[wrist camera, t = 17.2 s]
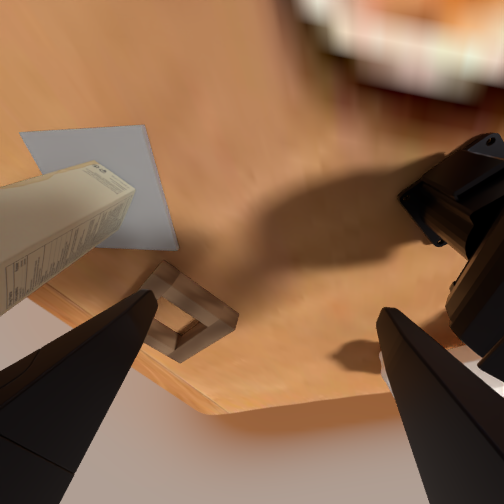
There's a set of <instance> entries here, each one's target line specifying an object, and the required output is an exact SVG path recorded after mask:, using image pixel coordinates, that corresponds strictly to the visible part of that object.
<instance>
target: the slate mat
mask: <svg viewBox="0 0 504 504" xmlns="http://www.w3.org/2000/svg"><path fill="white" fill-rule="evenodd" d="M19 134H20V136H21V137H22V139H23V141H24V143H25V144H26V146H27V148H28V150H29V151H30V153H31V155H32V157H33V158H34V160H35V162H36V164H37V165H38V167H39V169H40V171H41V172H42V174H43V175H44V174H47V173H51V172H54V171H58V170H61V169H65V168H68V167H71V166H75V165H78V164H82V163H85V162H89V161H92V160H95V161H96V162H98V163H99V164H101V165H102V166H104V167H105V168H107V169H108V170H110V171H111V172H112V173H114V174H115V175H117V176H118V177H119V178H121V179H122V180H124V181H125V182H126V183H128V184H129V185H131V186H132V187H133V188H135V190H136V191H135V194H134V196H133V199H132V201H131V204H130V206H129V208H128V211H127V213H126V215H125V218H124V220H123V222H122V224H121V226H120V228H119V230H118V231H116V232H115V233H113V234H112V235H111V236H109V237H108V238H107V239H105V240H104V241H102V242H101V243H100V244H98V245H97V246H96V247H99V248H122V249H145V250H168V251H177V250H178V249H179V245H178V241H177V238H176V234H175V231H174V227H173V224H172V220H171V217H170V213H169V210H168V206H167V203H166V199H165V195H164V192H163V188H162V185H161V181H160V178H159V174H158V171H157V167H156V164H155V160H154V157H153V153H152V149H151V146H150V142H149V139H148V135H147V132H146V128H145V125H133V126H116V127H99V128H82V129H66V130H49V131H32V132H19Z"/></svg>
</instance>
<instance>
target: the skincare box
mask: <svg viewBox="0 0 504 504" xmlns="http://www.w3.org/2000/svg"><path fill="white" fill-rule="evenodd" d="M135 191H136V190H135V188H133V187H132V186H131V185H129V184H128V183H126V182H125V181H124V180H122V179H121V178H119V177H118V176H117V175H115V174H114V173H112V172H111V171H110V170H108V169H107V168H105V167H104V166H102V165H101V164H99V163H98V162H96V161H95V160H92V161H89V162H85V163H82V164H78V165H75V166H71V167H68V168H65V169H61V170H58V171H54V172H51V173H47V174H44V175H40V176H37V177H33V178H30V179H26V180H23V181H20V182H16V183H13V184H9V185H6V186H2V187H0V316H1V315H3V314H4V313H6V312H7V311H8V310H10V309H11V308H12V307H14V306H15V305H16V304H18V303H19V302H21V301H22V300H23V299H25V298H26V297H27V296H29V295H30V294H32V293H33V292H34V291H36V290H37V289H38V288H40V287H41V286H42V285H44V284H45V283H46V282H48V281H49V280H51V279H52V278H53V277H55V276H56V275H57V274H59V273H60V272H62V271H63V270H64V269H66V268H67V267H68V266H70V265H71V264H73V263H74V262H75V261H77V260H78V259H79V258H81V257H82V256H83V255H85V254H86V253H88V252H89V251H90V250H92V249H93V248H94V247H96V246H97V245H98V244H100V243H101V242H102V241H104V240H105V239H107V238H108V237H109V236H111V235H112V234H113V233H115V232H116V231H118V230H119V228H120V226H121V224H122V222H123V220H124V218H125V215H126V213H127V211H128V208H129V206H130V204H131V201H132V199H133V196H134V194H135Z"/></svg>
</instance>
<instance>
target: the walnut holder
mask: <svg viewBox="0 0 504 504" xmlns="http://www.w3.org/2000/svg"><path fill="white" fill-rule="evenodd" d="M141 289H149V290H152V291H153V293H154V295H155V298H156V300H158V299H159V298H160V297H161V296H162V297H164V298H165V299H167V300H168V301H170V302H171V303H173V304H174V305H176V306H177V307H179V308H180V309H182V310H183V311H185V312H186V313H188V314H189V315H191V316H192V317H194V318H195V319H197V320H198V321H200V323H198V324H197V325H196V326H194V327H193V328H192V329H190V330H189V331H188V332H186V333H185V334H183V335H182V336H181V335H180V334H178V333H176V332H175V331H173V330H171V329H170V328H168V327H167V326H165V325H163V324H162V323H160V322H159V321H157V320H155V319H154V318H153V321H152V323H151V326H150V328H149V331H148V333H147V336H146V338H145V340H144V343H145V344H147V345H149V346H151V347H152V348H154V349H156V350H158V351H159V352H161V353H163V354H165V355H166V356H168V357H170V358H171V359H173V360H175V361H177V362H178V363H182V362H183V361H185V360H187V359H188V358H190V357H192V356H193V355H195V354H196V353H198V352H200V351H201V350H203V349H205V348H206V347H208V346H210V345H211V344H213V343H214V342H216V341H218V340H219V339H221V338H223V337H224V336H226V335H227V334H229V333H231V332H232V331H234V330H235V328H236V324H237V321H238V317H239V314H238V313H237V312H236V311H234V310H233V309H231V308H230V307H229V306H227V305H226V304H224V303H223V302H222V301H220V300H219V299H217V298H216V297H215V296H213V295H212V294H211V293H209V292H208V291H206V290H205V289H204V288H202V287H201V286H199V285H198V284H197V283H195V282H194V281H192V280H191V279H190V278H188V277H187V276H185V275H184V274H183V273H181V272H180V271H179V270H177V269H176V268H174V267H173V266H172V265H170V264H169V263H167V262H166V261H165V260H163V261H162V262H161V264H160V265H159V266H158V267H157V268H156V269H155V271H154V272H153V273H152V274H151V275H150V276H149V278H148V279H147V280H146V281H145V282H144V284H143V285H142V286H141V287H140V288H139V290H141ZM139 290H138V291H139ZM138 291H137V292H138Z"/></svg>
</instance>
